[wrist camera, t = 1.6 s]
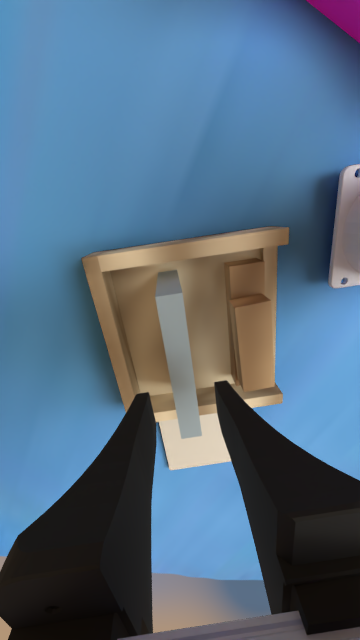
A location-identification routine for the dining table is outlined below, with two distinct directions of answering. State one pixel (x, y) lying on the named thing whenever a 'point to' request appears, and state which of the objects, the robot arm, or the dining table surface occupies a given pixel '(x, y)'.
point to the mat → (194, 444)
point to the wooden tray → (200, 309)
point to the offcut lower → (242, 292)
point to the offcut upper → (253, 341)
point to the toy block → (341, 14)
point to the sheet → (178, 352)
